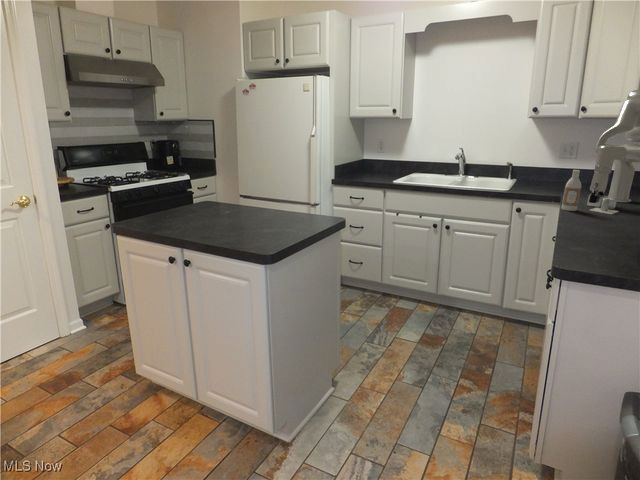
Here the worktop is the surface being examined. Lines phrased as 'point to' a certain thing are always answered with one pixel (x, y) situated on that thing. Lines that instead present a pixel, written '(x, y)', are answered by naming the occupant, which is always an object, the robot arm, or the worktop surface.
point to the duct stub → (604, 207)
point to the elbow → (599, 202)
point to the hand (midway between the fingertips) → (595, 201)
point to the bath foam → (572, 192)
